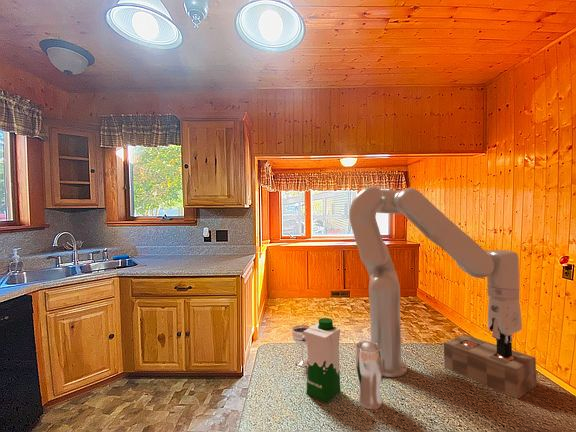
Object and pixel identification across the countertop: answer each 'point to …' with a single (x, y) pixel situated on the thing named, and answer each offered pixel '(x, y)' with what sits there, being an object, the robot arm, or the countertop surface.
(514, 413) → the countertop surface
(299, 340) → the wineglass
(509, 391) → the tan checkered block
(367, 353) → the beer glass
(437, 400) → the countertop surface
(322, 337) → the milk carton
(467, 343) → the peg left
